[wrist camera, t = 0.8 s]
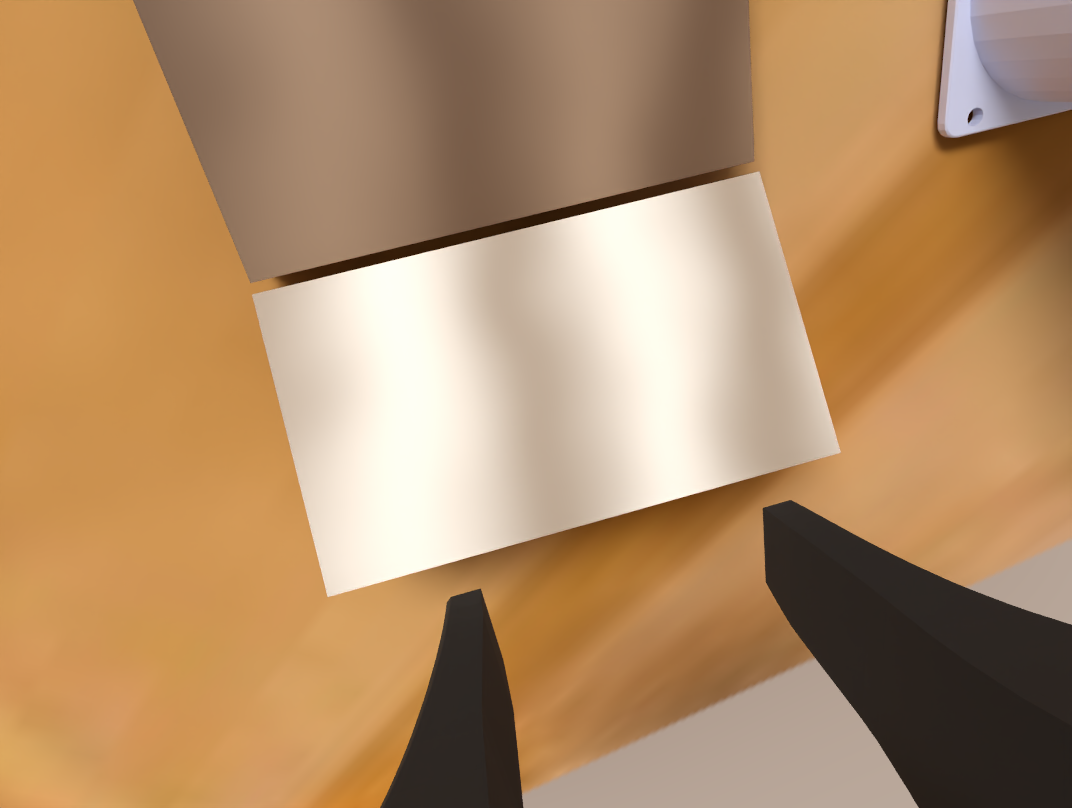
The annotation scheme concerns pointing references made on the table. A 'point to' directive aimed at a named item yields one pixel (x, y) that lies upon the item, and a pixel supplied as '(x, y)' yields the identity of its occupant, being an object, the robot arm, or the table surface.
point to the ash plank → (542, 380)
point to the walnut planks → (443, 111)
